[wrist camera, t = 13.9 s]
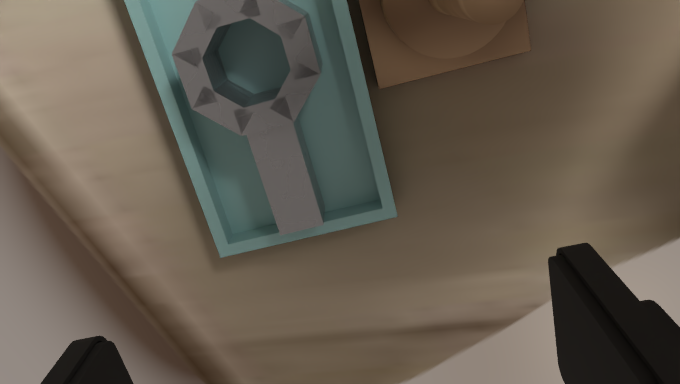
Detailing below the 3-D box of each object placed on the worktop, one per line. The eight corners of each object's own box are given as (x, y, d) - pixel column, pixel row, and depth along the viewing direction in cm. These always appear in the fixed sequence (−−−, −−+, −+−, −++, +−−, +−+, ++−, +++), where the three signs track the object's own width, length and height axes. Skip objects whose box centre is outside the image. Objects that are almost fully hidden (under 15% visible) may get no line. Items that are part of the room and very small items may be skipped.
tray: (110, -77, 26) (93, -81, 25) (314, -137, 26) (312, -146, 24) (226, 243, 33) (220, 257, 31) (394, 203, 32) (397, 216, 30)
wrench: (178, 9, 27) (156, 12, 24) (298, -26, 27) (292, -27, 24) (253, 221, 32) (242, 248, 28) (358, 195, 31) (360, 219, 28)
